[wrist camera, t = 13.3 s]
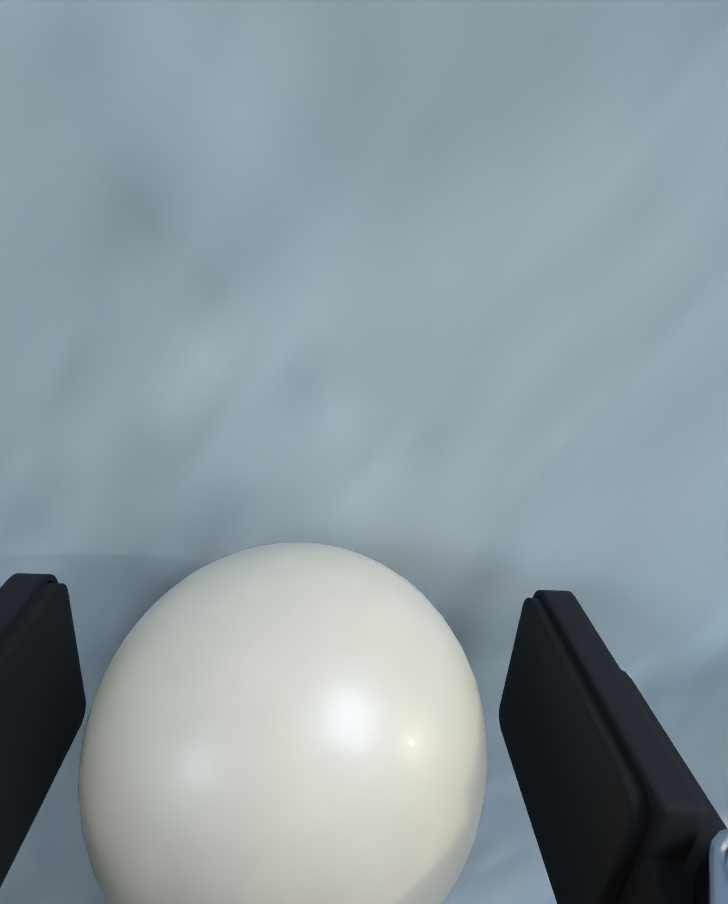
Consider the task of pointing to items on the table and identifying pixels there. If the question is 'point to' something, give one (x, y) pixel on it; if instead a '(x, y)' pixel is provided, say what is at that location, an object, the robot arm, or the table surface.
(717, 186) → the table surface
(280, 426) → the table surface
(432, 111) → the table surface
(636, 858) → the robot arm
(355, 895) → the blue doll
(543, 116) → the table surface
